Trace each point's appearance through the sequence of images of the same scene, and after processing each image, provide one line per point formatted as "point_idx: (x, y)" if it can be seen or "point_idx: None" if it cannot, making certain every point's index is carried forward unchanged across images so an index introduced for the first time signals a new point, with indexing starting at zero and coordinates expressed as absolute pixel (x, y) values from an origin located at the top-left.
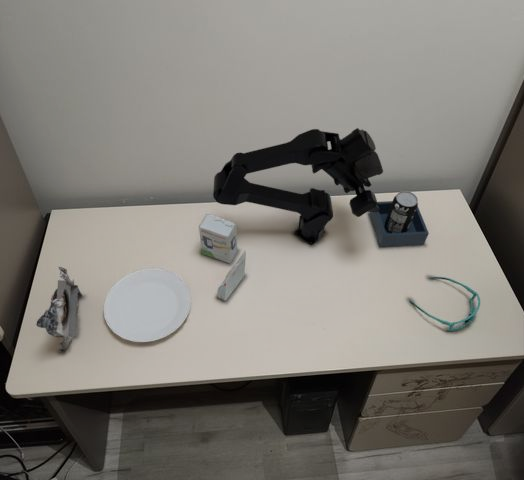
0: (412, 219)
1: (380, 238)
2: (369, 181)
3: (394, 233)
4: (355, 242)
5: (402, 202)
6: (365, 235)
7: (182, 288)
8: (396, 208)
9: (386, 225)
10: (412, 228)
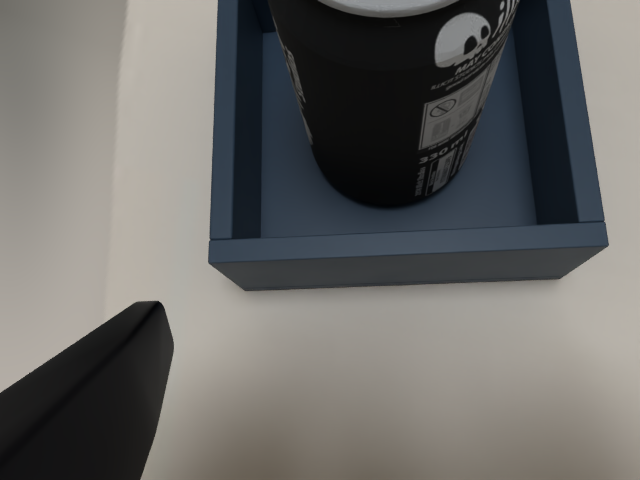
0: None
1: (543, 266)
2: (110, 339)
3: (574, 153)
4: (518, 452)
5: None
6: (447, 358)
7: None
8: (469, 57)
9: (405, 196)
10: None
